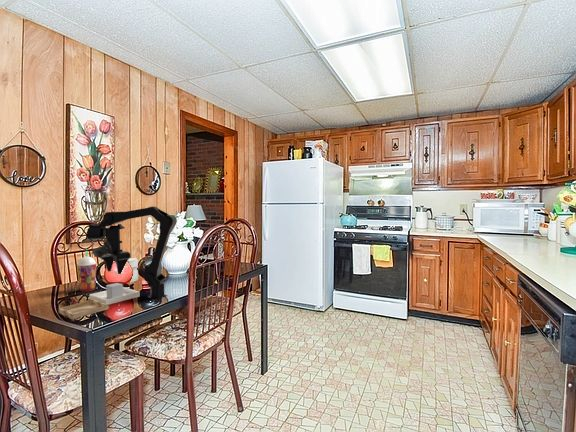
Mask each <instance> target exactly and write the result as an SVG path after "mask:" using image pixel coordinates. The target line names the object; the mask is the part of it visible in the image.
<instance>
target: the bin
mask: <svg viewBox="0 0 576 432" xmlns="http://www.w3.org/2000/svg"><path fill="white" fill-rule="evenodd" d="M88 296H89V300H96V301H99V302H101V303H104V304H107V305H109V306H110V305H112V304H116V303H120V302H124V301H128V300H131V299H135V298H139V297H140V291H138V290H135V289H132V288H128V287H124V286H123V296H119V297H115V298H111V299H108V298H107V291H106V290H104V291H98V292H94V293H90V294H89V295H88Z"/></svg>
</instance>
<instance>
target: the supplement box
mask: <svg viewBox="0 0 576 432" xmlns="http://www.w3.org/2000/svg"><path fill="white" fill-rule="evenodd" d="M127 262H128V263H129V264H130V265H131V267H132V269H133V276H132V279H131V281H130V283H129V284H131V283H133V282H136V281H139V269H138V270H137V268H138V267H139V265H138V262H139V261H138V258H136V257H135V258H134V257H133V258H129V260H127Z"/></svg>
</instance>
